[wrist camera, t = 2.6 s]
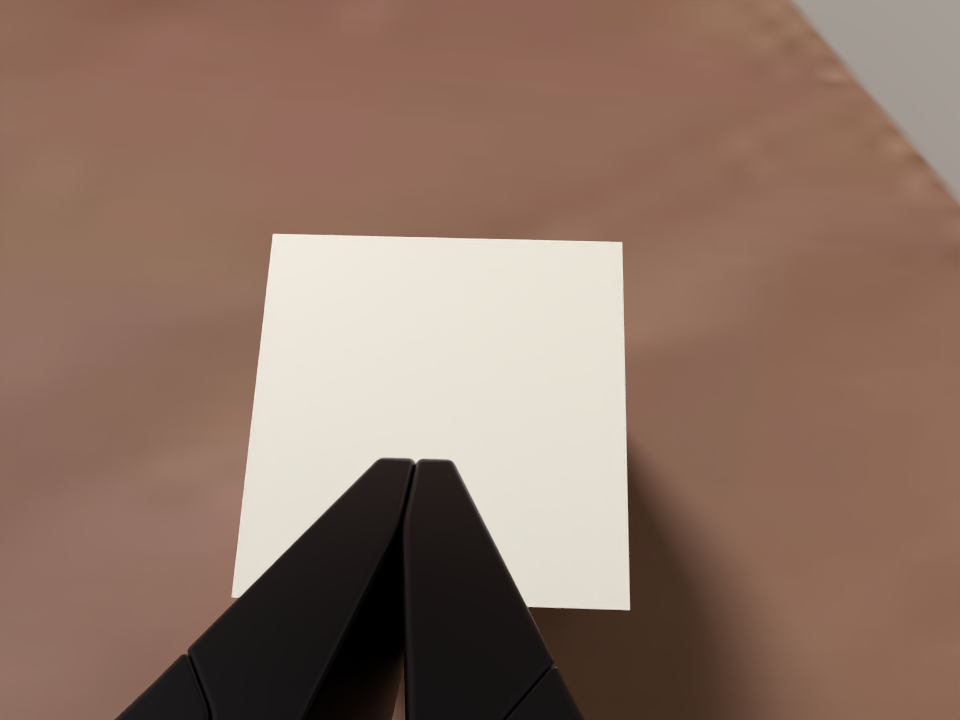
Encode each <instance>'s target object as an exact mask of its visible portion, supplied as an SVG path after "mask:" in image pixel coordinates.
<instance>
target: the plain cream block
mask: <svg viewBox="0 0 960 720" xmlns="http://www.w3.org/2000/svg"><path fill="white" fill-rule="evenodd" d="M384 457H386V458H410V459H413V460H414V462H415V463H417V461H418V460H420V459H448V460H451V461H453V462H454V464H455V465H456V467H457V469H458V471H459V473H460V475H461V477H462V479H463V481H464V483H465V485H466V487H467V489H468V491H469V493H470V495H471V497H472V499H473V501H474V503H475V505H476V507H477V509H478V511H479V513H480V515H481V517H482V519H483V521H484V523H485V525H486V527H487V529H488V530H489V532H490V534H491V536H492V538H493V540H494V542H495V544H496V546H497V548H498V550H499V552H500V554H501V556H502V558H503V560H504V562H505V564H506V566H507V568H508V570H509V572H510V574H511V576H512V578H513V580H514V582H515V584H516V586H517V588H518V590H519V592H520V594H521V596H522V598H523V600H524V602H525V604H526V605H527V607H547V608H578V609H609V610H630V584H629V538H628V492H627V446H626V400H625V354H624V308H623V262H622V242H594V241H552V240H509V239H467V238H424V237H382V236H339V235H297V234H273V239H272V247H271V256H270V265H269V274H268V282H267V291H266V300H265V309H264V318H263V326H262V335H261V344H260V353H259V361H258V370H257V379H256V388H255V396H254V405H253V414H252V423H251V432H250V440H249V449H248V458H247V467H246V475H245V484H244V493H243V502H242V511H241V519H240V528H239V537H238V546H237V554H236V563H235V572H234V581H233V589H232V597H237V598H239V597H240V596H241V595H242V594H243V593H244V592H245V591H246V590H247V589H248V588H249V587H250V586H251V585H252V584H253V583H254V582H255V581H256V580H257V579H258V578H259V577H260V576H261V575H262V574H263V573H264V572H265V571H266V570H267V569H268V568H269V567H270V566H271V565H272V564H273V563H274V562H275V561H276V560H277V559H278V558H279V557H280V556H281V555H282V554H283V553H284V552H285V551H286V550H287V549H288V548H289V547H290V546H291V545H292V544H293V543H294V542H295V541H296V540H297V539H298V538H299V537H300V536H301V535H302V534H303V533H304V532H305V531H306V530H307V529H308V528H309V527H310V526H311V525H312V524H313V523H314V522H315V521H316V520H317V519H318V518H319V517H320V516H321V515H322V514H323V513H324V512H325V511H326V510H327V509H328V508H329V507H330V506H331V505H332V504H333V503H334V502H335V501H336V500H337V499H338V498H339V497H340V496H341V495H342V494H343V493H344V492H345V491H346V490H347V489H348V488H349V487H350V486H351V485H352V484H353V483H354V482H355V481H356V480H357V479H358V478H359V477H360V476H361V475H362V474H363V473H364V472H365V471H366V470H367V469H368V468H369V467H370V466H371V465H372V464H373V463H374V462H375V461H376V460H378V459H380V458H384Z"/></svg>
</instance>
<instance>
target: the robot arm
mask: <svg viewBox="0 0 960 720" xmlns="http://www.w3.org/2000/svg"><path fill="white" fill-rule="evenodd" d="M403 665H404V682H405V720H586V719H585V717H584V716H583V714H582V712H581V710H580V708H579V707H578V705H577V703H576V701H575V699H574V697H573V695H572V693H571V691H570V690H569V688H568V686H567V684H566V682H565V680H564V678H563V676H562V674H561V672H560V670H559V669H558V668H557V667H555V661H554V659H553V657H552V655H551V653H550V651H549V649H548V647H547V645H546V643H545V641H544V639H543V637H542V635H541V633H540V631H539V629H538V627H537V625H536V623H535V621H534V619H533V617H532V615H531V613H530V611H529V609H528V607H527V605H526V604H525V602H524V600H523V598H522V596H521V594H520V592H519V590H518V588H517V586H516V584H515V582H514V580H513V578H512V576H511V574H510V572H509V570H508V568H507V566H506V564H505V562H504V560H503V558H502V556H501V554H500V552H499V550H498V548H497V546H496V544H495V542H494V540H493V538H492V536H491V534H490V532H489V530H488V529H487V527H486V525H485V523H484V521H483V519H482V517H481V515H480V513H479V511H478V509H477V507H476V505H475V503H474V501H473V499H472V497H471V495H470V493H469V491H468V489H467V487H466V485H465V483H464V481H463V479H462V477H461V475H460V473H459V471H458V469H457V467H456V465H455V464H454V462H453V461H451V460H448V459H420V460H418V461H417V463H415V462H414V460H413V459H410V458H386V457H384V458H380V459H378V460H376V461H375V462H374V463H373V464H372V465H371V466H370V467H369V468H368V469H367V470H366V471H365V472H364V473H363V474H362V475H361V476H360V477H359V478H358V479H357V480H356V481H355V482H354V483H353V484H352V485H351V486H350V487H349V488H348V489H347V490H346V491H345V492H344V493H343V494H342V495H341V496H340V497H339V498H338V499H337V500H336V501H335V502H334V503H333V504H332V505H331V506H330V507H329V508H328V509H327V510H326V511H325V512H324V513H323V514H322V515H321V516H320V517H319V518H318V519H317V520H316V521H315V522H314V523H313V524H312V525H311V526H310V527H309V528H308V529H307V530H306V531H305V532H304V533H303V534H302V535H301V536H300V537H299V538H298V539H297V540H296V541H295V542H294V543H293V544H292V545H291V546H290V547H289V548H288V549H287V550H286V551H285V552H284V553H283V554H282V555H281V556H280V557H279V558H278V559H277V560H276V561H275V562H274V563H273V564H272V565H271V566H270V567H269V568H268V569H267V570H266V571H265V572H264V573H263V574H262V575H261V576H260V577H259V578H258V579H257V580H256V581H255V582H254V583H253V584H252V585H251V586H250V587H249V588H248V589H247V590H246V591H245V592H244V593H243V594H242V595H241V596H240V597H239V598H238V599H237V600H236V601H235V602H234V603H233V604H232V605H231V606H230V607H229V608H228V609H227V610H226V611H225V612H224V613H223V614H222V615H221V616H220V617H219V618H218V619H217V620H216V621H215V622H214V623H213V624H212V625H211V626H210V627H209V628H208V629H207V630H206V631H205V632H204V633H203V634H202V635H201V636H200V637H199V638H198V639H197V640H196V641H195V642H194V643H193V644H192V645H191V646H190V647H189V649H188V655H187V654H183V655H181V656H180V657H179V658H178V659H177V660H176V661H175V662H174V663H173V664H172V665H171V666H170V667H169V668H168V669H167V670H166V671H165V672H164V673H163V674H162V675H161V676H160V677H159V678H158V679H157V680H156V681H155V682H154V683H153V684H152V685H151V686H150V687H149V688H147V689H146V690H145V691H144V692H143V693H142V694H141V695H140V696H139V697H138V698H137V699H136V700H135V701H134V702H133V703H132V704H131V705H130V706H129V707H127V708H126V709H125V710H124V711H123V712H122V713H121V714H120V715H119V716H118V717H117V718H116V719H115V720H392V716H393V711H394V707H395V702H396V698H397V693H398V689H399V684H400V680H401V675H402V670H403Z"/></svg>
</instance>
